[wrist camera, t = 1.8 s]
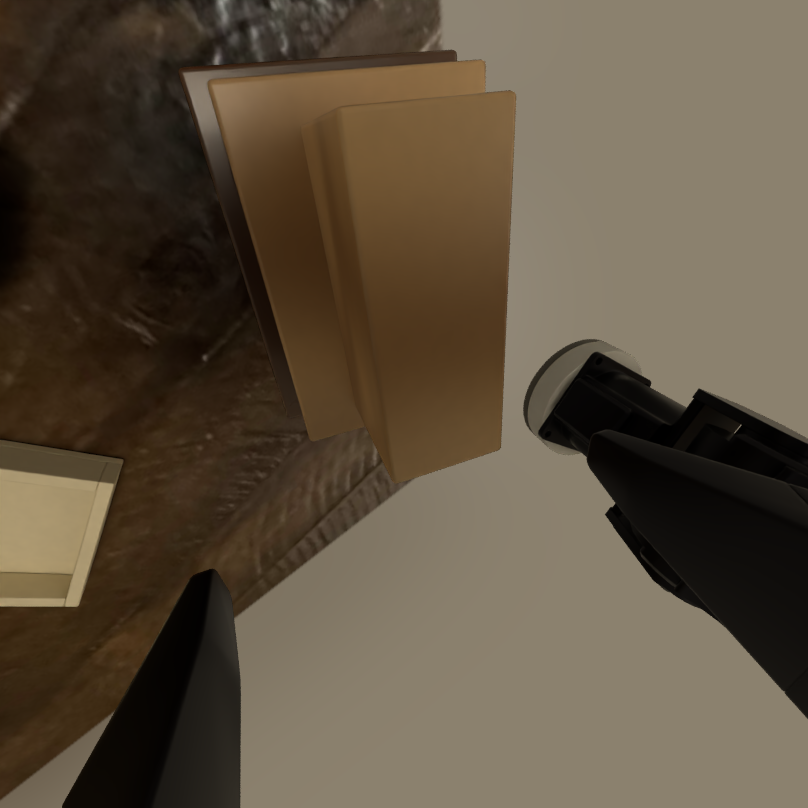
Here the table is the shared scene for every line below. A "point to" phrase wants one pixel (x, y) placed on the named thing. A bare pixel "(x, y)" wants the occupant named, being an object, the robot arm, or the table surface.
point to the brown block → (226, 187)
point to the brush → (383, 247)
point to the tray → (50, 521)
